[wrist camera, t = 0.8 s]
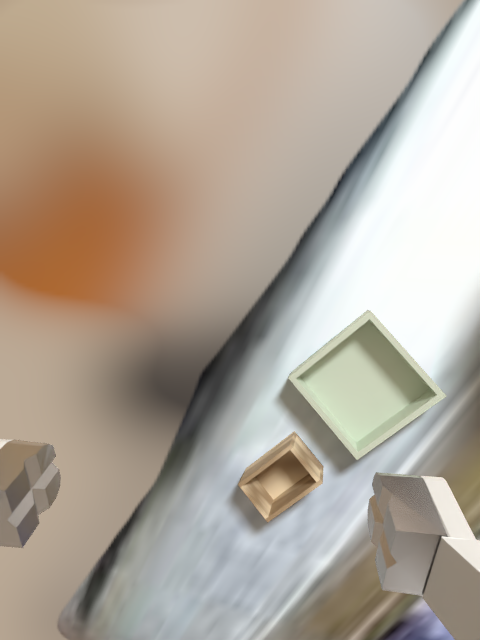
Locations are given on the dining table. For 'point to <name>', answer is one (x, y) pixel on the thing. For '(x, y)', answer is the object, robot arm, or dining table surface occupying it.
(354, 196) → the dining table surface
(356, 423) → the sage crate
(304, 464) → the pine crate
